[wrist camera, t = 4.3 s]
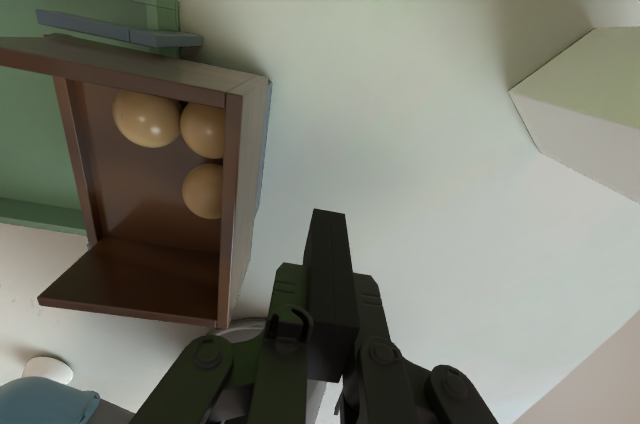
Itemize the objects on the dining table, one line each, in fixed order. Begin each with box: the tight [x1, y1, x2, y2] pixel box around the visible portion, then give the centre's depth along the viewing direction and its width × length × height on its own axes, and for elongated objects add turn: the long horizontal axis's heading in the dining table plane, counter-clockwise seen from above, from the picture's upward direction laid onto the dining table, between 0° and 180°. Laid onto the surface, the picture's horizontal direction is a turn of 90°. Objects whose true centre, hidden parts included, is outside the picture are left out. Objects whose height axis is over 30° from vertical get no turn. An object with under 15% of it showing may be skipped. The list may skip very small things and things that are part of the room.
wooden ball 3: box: [182, 163, 223, 219], centre depth 17 cm, size 3×3×3 cm
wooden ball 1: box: [112, 89, 183, 148], centre depth 15 cm, size 3×3×3 cm
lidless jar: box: [22, 357, 73, 385], centre depth 36 cm, size 5×3×5 cm
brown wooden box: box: [0, 33, 268, 329], centre depth 16 cm, size 12×10×6 cm
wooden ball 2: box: [180, 103, 225, 159], centre depth 15 cm, size 3×3×3 cm
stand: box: [35, 9, 272, 251], centre depth 20 cm, size 14×10×7 cm
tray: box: [0, 0, 180, 236], centre depth 21 cm, size 17×17×3 cm
